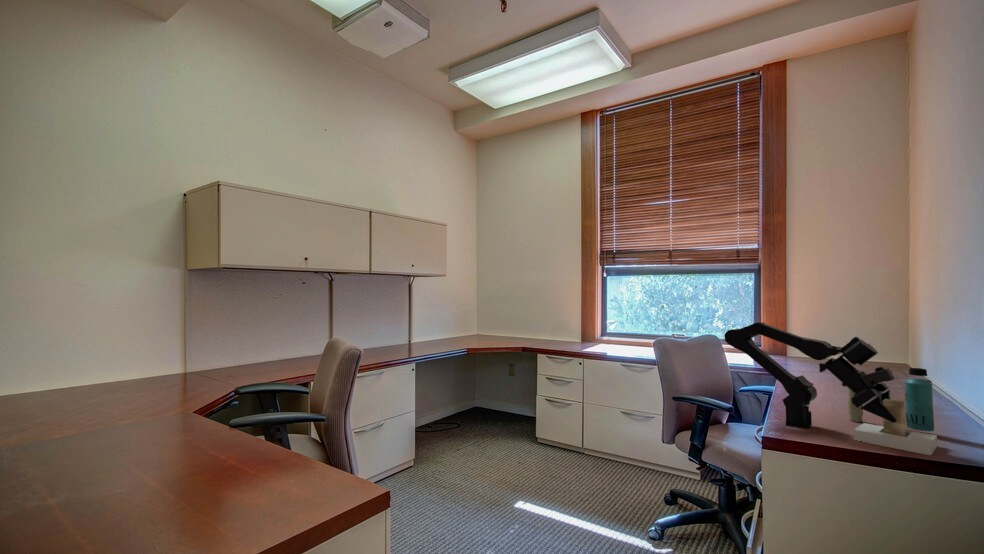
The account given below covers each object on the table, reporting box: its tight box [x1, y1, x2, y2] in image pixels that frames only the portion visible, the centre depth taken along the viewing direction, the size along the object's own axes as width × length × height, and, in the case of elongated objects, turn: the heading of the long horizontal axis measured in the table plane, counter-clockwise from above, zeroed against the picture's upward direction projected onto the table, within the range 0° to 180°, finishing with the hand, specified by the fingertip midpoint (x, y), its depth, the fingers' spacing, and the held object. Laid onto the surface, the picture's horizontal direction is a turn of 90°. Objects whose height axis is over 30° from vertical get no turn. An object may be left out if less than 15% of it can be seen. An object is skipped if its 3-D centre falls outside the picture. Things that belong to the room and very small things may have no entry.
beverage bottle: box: [904, 367, 935, 432], centre depth 137 cm, size 6×7×20 cm
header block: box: [853, 422, 938, 456], centre depth 127 cm, size 16×12×3 cm
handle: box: [847, 387, 864, 423], centre depth 151 cm, size 5×6×15 cm
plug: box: [882, 398, 906, 437], centre depth 127 cm, size 4×4×12 cm
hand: (898, 419), depth 126 cm, fingers open, 9 cm apart
